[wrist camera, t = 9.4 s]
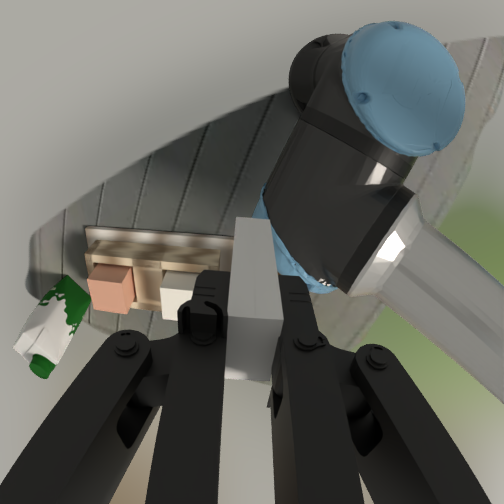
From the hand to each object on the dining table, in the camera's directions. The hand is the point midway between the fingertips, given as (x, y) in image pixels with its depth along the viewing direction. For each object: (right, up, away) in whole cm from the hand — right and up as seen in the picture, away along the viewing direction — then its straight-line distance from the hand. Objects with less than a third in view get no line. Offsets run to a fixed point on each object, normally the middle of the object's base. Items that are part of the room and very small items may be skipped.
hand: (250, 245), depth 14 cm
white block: (-10, -5, +37) cm, 38 cm away
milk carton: (-37, -9, +42) cm, 57 cm away
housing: (-16, -3, +39) cm, 42 cm away
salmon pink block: (-22, -4, +36) cm, 42 cm away
